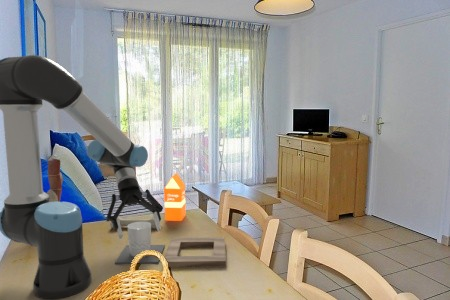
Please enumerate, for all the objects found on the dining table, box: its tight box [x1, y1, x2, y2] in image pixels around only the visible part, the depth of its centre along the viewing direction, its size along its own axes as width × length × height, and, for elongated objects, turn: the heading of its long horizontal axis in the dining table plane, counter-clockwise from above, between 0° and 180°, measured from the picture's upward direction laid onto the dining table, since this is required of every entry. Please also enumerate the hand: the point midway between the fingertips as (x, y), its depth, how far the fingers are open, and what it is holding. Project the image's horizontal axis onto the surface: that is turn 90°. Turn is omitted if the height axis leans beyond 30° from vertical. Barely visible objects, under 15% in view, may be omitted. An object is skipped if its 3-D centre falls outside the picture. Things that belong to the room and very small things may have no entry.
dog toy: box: [109, 215, 157, 230], centre depth 148 cm, size 20×6×5 cm, turn 91°
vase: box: [46, 158, 64, 202], centre depth 143 cm, size 10×7×30 cm
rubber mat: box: [114, 244, 165, 265], centre depth 121 cm, size 14×14×1 cm
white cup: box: [126, 221, 152, 257], centre depth 120 cm, size 8×8×10 cm
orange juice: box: [163, 172, 187, 222], centre depth 159 cm, size 8×9×20 cm
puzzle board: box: [164, 236, 227, 269], centre depth 121 cm, size 20×20×2 cm
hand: (140, 233), depth 122 cm, fingers open, 13 cm apart
